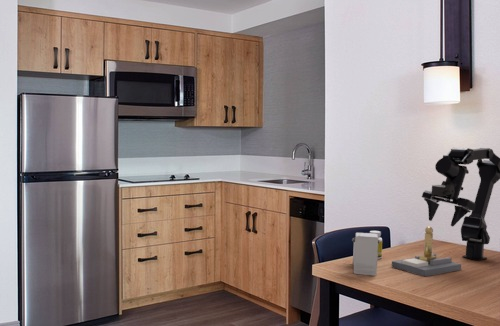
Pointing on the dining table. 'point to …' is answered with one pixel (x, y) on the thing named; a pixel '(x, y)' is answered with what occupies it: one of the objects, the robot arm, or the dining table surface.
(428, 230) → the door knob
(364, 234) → the supplement box
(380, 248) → the supplement bottle
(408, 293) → the dining table surface
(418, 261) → the cover
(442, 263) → the lock plate
